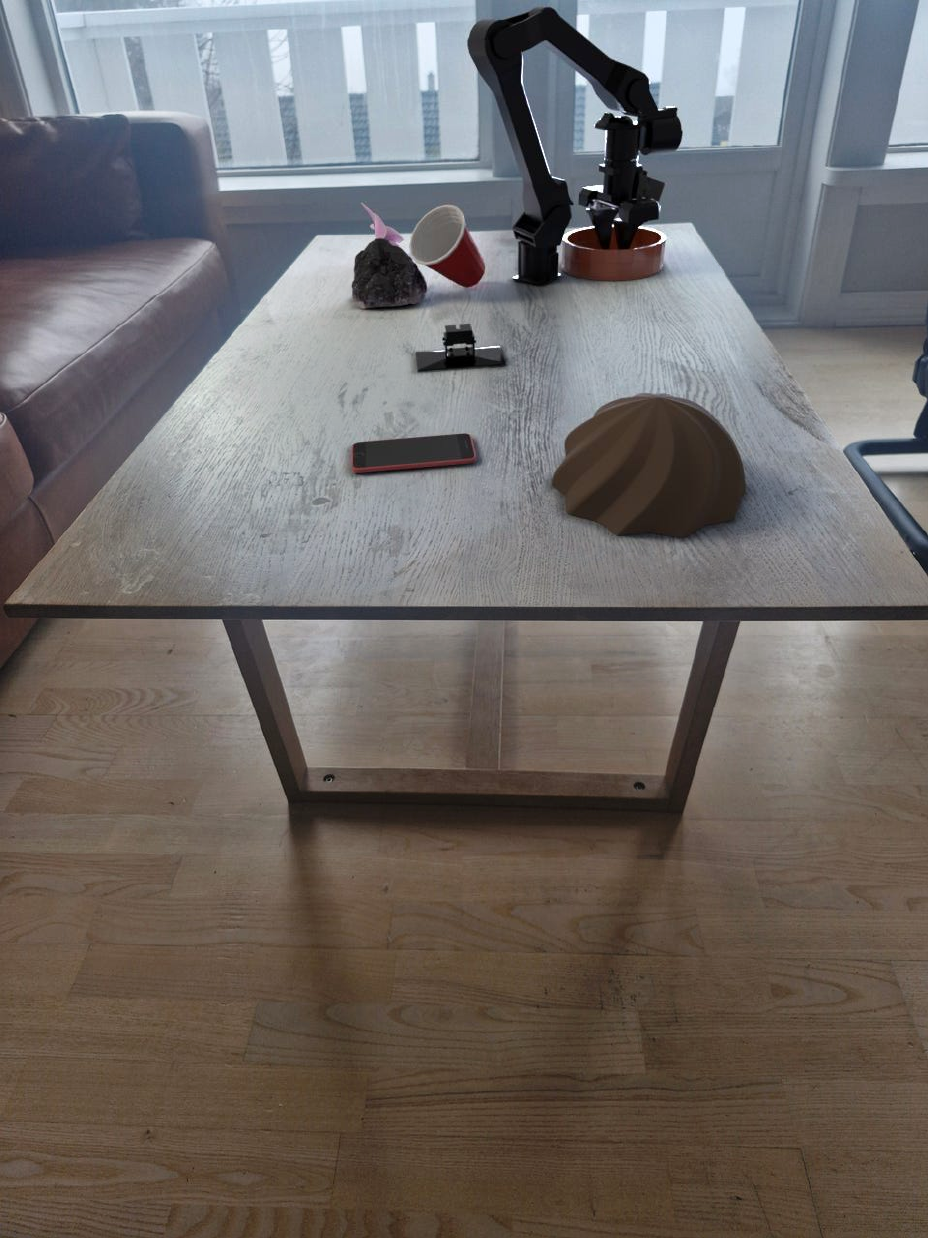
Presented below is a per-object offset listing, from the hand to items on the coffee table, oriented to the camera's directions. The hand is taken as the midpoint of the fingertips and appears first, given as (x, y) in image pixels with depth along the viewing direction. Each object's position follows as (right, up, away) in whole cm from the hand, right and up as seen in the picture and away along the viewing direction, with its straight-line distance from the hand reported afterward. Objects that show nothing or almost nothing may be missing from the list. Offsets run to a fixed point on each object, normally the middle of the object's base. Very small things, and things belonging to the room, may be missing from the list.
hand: (614, 254), depth 146 cm
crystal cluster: (-41, -12, -9) cm, 43 cm away
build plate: (-28, -30, -33) cm, 53 cm away
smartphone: (-33, -49, -56) cm, 81 cm away
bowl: (0, -2, +1) cm, 2 cm away
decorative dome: (-9, -54, -64) cm, 84 cm away
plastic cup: (-26, -6, -6) cm, 28 cm away
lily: (-43, +5, +12) cm, 45 cm away
